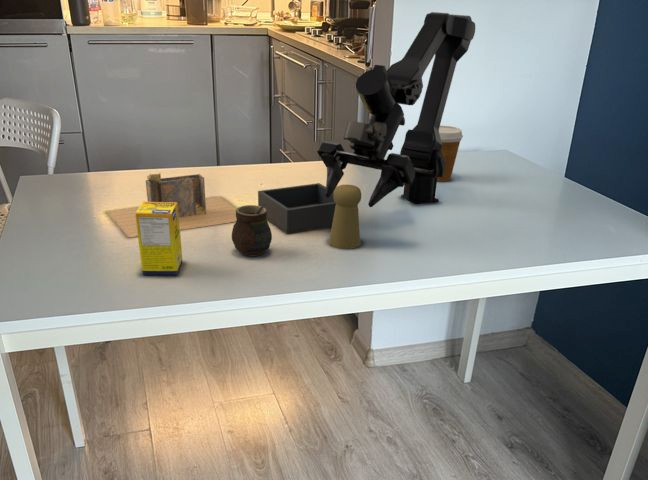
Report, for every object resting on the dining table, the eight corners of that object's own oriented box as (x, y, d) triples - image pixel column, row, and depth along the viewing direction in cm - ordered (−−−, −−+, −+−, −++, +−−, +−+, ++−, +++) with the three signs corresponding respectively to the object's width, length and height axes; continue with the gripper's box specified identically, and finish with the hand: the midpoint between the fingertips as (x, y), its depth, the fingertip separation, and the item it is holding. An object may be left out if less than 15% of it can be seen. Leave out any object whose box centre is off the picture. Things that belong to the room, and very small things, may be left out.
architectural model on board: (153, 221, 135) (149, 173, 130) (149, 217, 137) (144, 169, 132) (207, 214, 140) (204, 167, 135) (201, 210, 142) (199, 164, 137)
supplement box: (182, 262, 118) (178, 201, 112) (177, 276, 113) (172, 213, 107) (148, 261, 117) (142, 200, 112) (141, 275, 112) (134, 212, 107)
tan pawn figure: (323, 244, 127) (325, 187, 122) (337, 234, 132) (340, 179, 126) (352, 250, 125) (355, 193, 119) (365, 241, 130) (369, 184, 124)
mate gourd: (252, 241, 127) (251, 189, 122) (281, 251, 123) (281, 198, 118) (224, 251, 122) (221, 198, 117) (254, 263, 118) (252, 208, 113)
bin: (318, 204, 148) (319, 182, 146) (350, 223, 138) (351, 200, 135) (258, 213, 142) (257, 190, 139) (287, 233, 132) (287, 210, 129)
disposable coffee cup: (416, 180, 166) (421, 131, 160) (422, 171, 174) (427, 123, 168) (454, 185, 164) (461, 135, 158) (459, 175, 172) (465, 127, 166)
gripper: (324, 96, 124) (289, 168, 122) (415, 109, 116) (380, 187, 113) (343, 133, 134) (311, 200, 131) (428, 147, 126) (397, 219, 123)
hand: (348, 201), depth 125 cm, fingers open, 9 cm apart
